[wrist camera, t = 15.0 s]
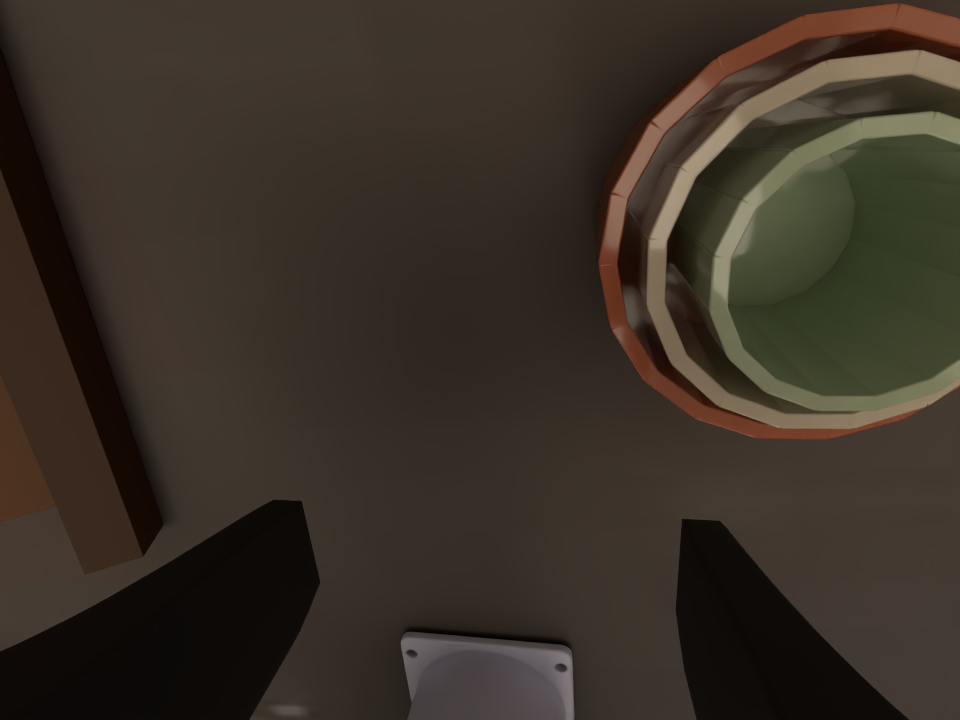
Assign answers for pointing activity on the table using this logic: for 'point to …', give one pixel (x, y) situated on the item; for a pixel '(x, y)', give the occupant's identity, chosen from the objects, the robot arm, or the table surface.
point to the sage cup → (831, 258)
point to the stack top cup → (702, 137)
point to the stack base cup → (741, 69)
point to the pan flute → (59, 377)
